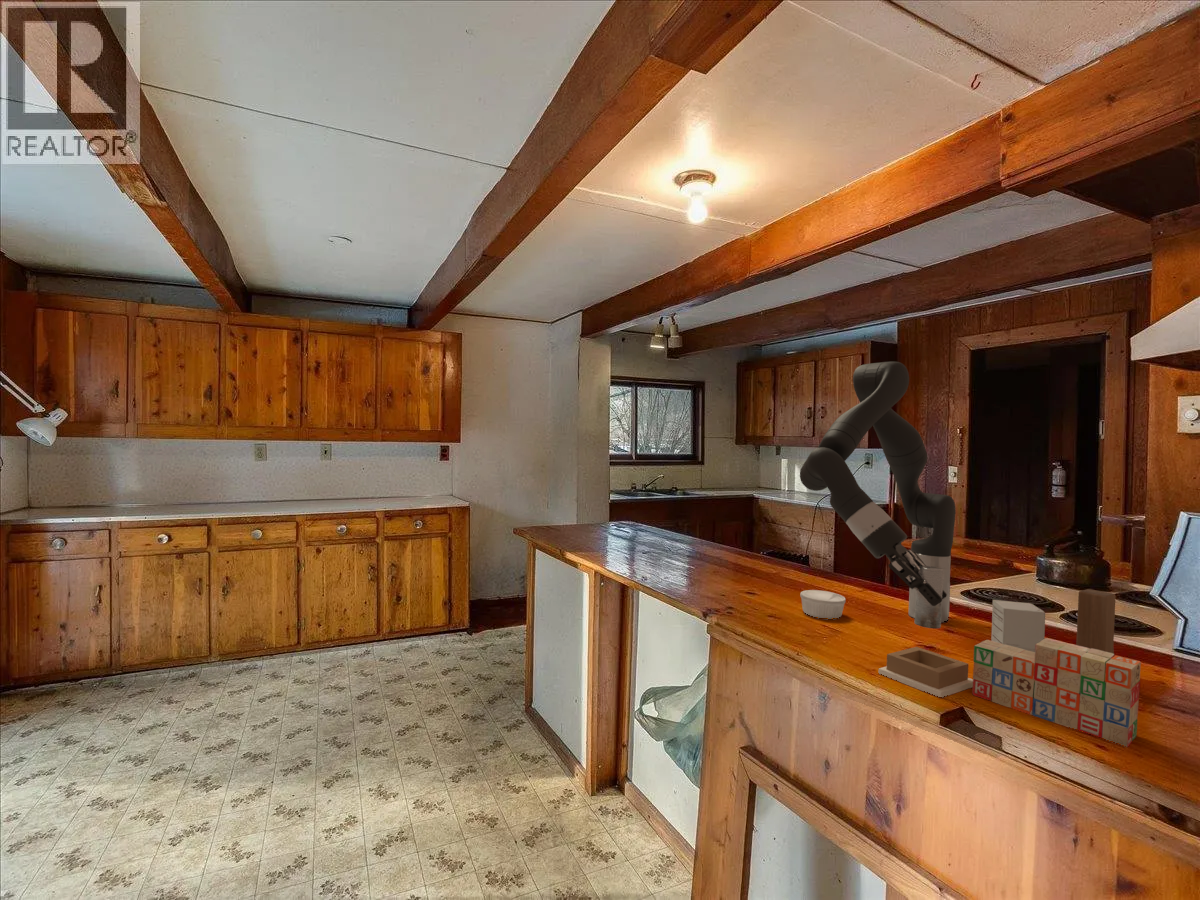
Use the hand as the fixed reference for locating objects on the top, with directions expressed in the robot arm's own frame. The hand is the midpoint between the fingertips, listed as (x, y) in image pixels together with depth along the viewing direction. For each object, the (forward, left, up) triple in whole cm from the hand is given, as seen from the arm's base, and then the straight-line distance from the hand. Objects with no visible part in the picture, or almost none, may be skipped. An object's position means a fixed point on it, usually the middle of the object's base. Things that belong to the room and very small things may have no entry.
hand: (940, 600), depth 108 cm
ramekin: (-17, -40, -16) cm, 46 cm away
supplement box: (-25, +2, -16) cm, 30 cm away
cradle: (+1, -2, -16) cm, 16 cm away
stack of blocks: (-4, +16, -16) cm, 23 cm away
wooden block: (-30, +14, -16) cm, 37 cm away
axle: (+1, -2, -5) cm, 5 cm away
